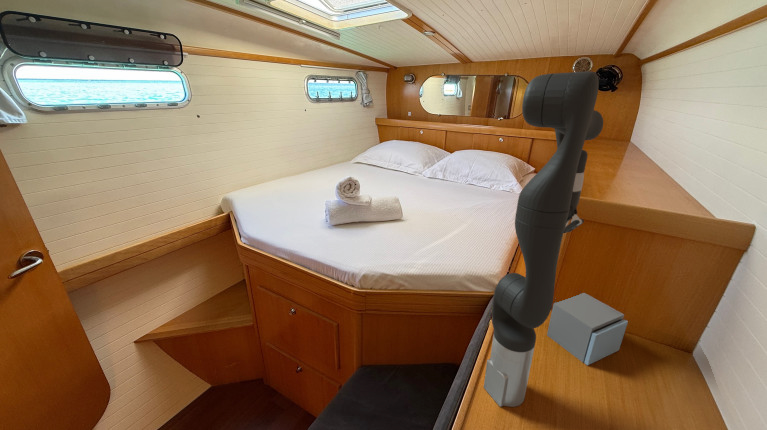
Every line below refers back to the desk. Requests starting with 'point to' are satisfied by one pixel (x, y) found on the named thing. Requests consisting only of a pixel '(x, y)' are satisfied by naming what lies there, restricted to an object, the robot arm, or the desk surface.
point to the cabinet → (579, 322)
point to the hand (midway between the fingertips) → (555, 242)
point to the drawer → (605, 341)
